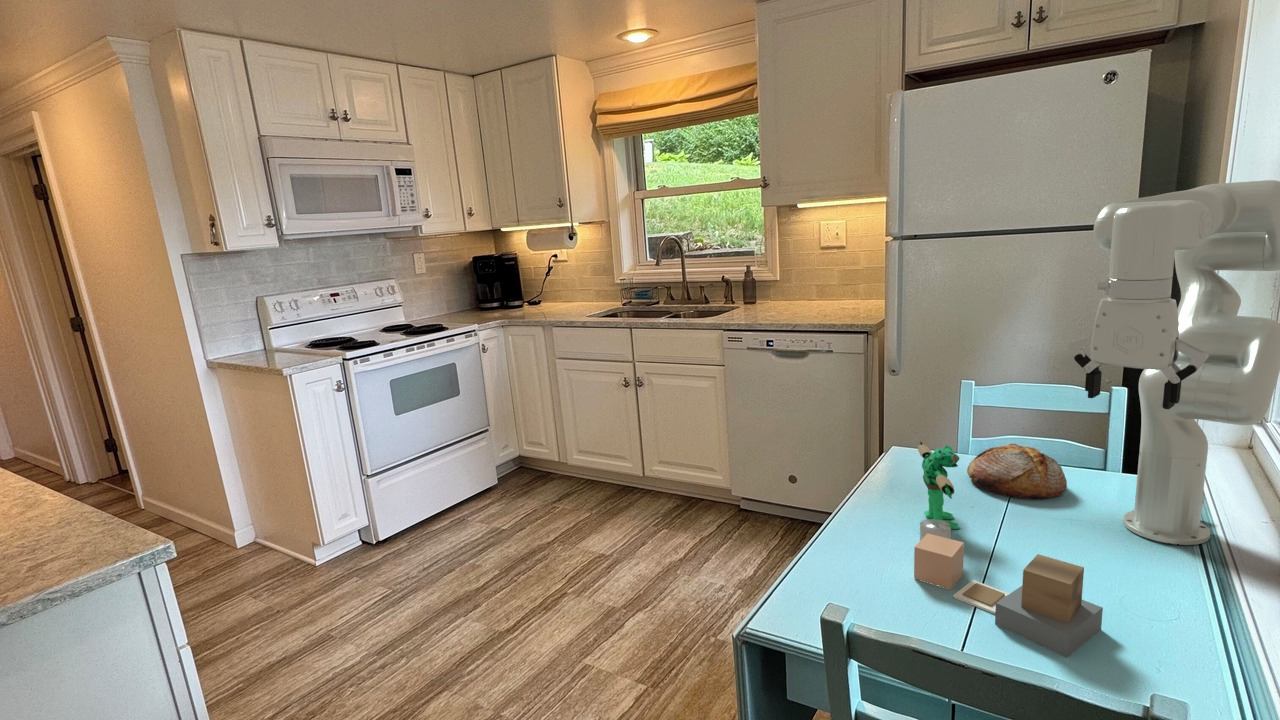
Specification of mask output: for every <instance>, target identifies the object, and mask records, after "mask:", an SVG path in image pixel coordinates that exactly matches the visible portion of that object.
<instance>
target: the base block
mask: <svg viewBox="0 0 1280 720" xmlns="http://www.w3.org/2000/svg"><path fill="white" fill-rule="evenodd" d="M1021 603H1022V585H1021V586H1019V587H1018V588H1016V589H1015V590H1013V591H1012V592H1010V593H1009V595H1007V596H1006V597H1004V598H1002V599H1001V600H999V601H998V602H996V612H995V614H994V615H995V616H994V617H995V618H994V619H995V620H994V625H997V626H998V627H1000V628H1002V629H1005V630H1006V631H1009V632H1011V633H1013V634H1015V635H1017V636H1018V637H1019V636H1020V637H1022V638H1024V639H1026V640H1028V641H1031V642H1032V643H1034V644H1036V645H1039V646H1041V647H1043V648H1045V649H1047V650H1050V651H1052V652H1054V653H1055V654H1058V655H1060V656H1062V657H1064V658H1067V659H1068V658H1069V657H1070V656H1071V655H1072V654H1073V653H1075V652H1076V651H1077V650H1078V649H1079V648H1081V647H1082V646H1083V645H1084V644H1086V643H1087V642H1089V640H1091V639H1092V638H1093V637H1094V636H1095V635H1097V634H1098V633H1099V632H1100V631H1102V625H1103V623H1102V622H1103V609H1104V608H1103V606H1101V605H1100V606H1099V605H1098V604H1094V603H1092V602H1090V601H1087V600H1085V599H1082V603H1081V606H1080V607H1079V609H1078V610H1077V612H1076V613H1075V614H1074V616H1073V617H1072V619H1071V620H1070V621H1069V623H1066V622H1063V621H1060V620H1057V619H1054V618H1051V617H1048V616H1045V615H1043V614H1040V613H1037V612H1034V611H1031V610H1028V609H1025V608H1022V607H1021Z"/></svg>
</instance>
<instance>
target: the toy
mask: <svg viewBox="0 0 1280 720" xmlns="http://www.w3.org/2000/svg"><path fill="white" fill-rule="evenodd" d="M917 450H918V452H919V454H920V456H921V458H922V459H923V460H922V463H921V468H922V470H923V476H922V479H923V482H924V484H925V486H926V488H927V495H928V510H927V511H925V512H924V514H925V517H926V519H938V520H942V521H945V522H947V523H949V524H950V526H951V530H961V527H960V526H959V524H958V523H956V522H954V521H950V520H955V517H954V516H953V515H954V514H952V513H950V512H948V511H944V509H943V507H944V503H945V500H944V495H945V496H947V497H948V498H949V499H950V500H951V499H952V498H953V495H954V494H955V489H954V488H955V487H954V485H953V483H952V481H951V480H950V479H949V478H948V471H947V470H946V468H958V467H959V464H957V463H958V462H959V461H960V456H959V455H957V454H956V452H954V450H953V449H952V447H951V446H950V445H945V446H944V447H943V448H936V449H935V450H934V452H932V450H931V449H930V448H929V447H928V446H926V445H925V444H923V442H922V441H920V442H919V445H918V446H917ZM944 467H945V468H944Z"/></svg>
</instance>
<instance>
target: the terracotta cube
mask: <svg viewBox="0 0 1280 720" xmlns="http://www.w3.org/2000/svg"><path fill="white" fill-rule="evenodd" d="M913 548H914V551H913V553H914V554H913V555H914V557H913V558H914V560H913V569H914V570H913V579H914V578H915V579H914V580H916V579H919V580H922V581H925V582H928V583H927V584H929V583H932V584H934V585H933V586H935V585H939V586H941V587H940V588H942V587H944V588H943V589H945V588H948V589H947V590H949V589H953V588H954V587H955V586H956V584H957V583H958V582H959V580H960V579H961V578H962V577H963V576H964V553H965V542H964V541H960V540H955V539H952V538H950V539H948V538H944V537H940V536H936V535H932V534H928V533H927V534H926V535H925V536H924V537H923V538H922V540H921V541H920V540H919V541H918V543H917V544H916V545H915V546H914V547H913ZM919 580H918V581H919ZM922 581H921V582H922ZM957 581H958V582H957ZM925 582H924V583H925ZM932 584H931V585H932ZM954 585H955V586H954ZM939 586H938V587H939Z"/></svg>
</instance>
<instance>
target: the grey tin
mask: <svg viewBox="0 0 1280 720" xmlns="http://www.w3.org/2000/svg"><path fill="white" fill-rule="evenodd" d="M945 521H946V520H945ZM945 521H942V520H938V519H934V518H926V519H922V520H921V521H920V522H919V542H920V541H921V540H922V538H923V537H924V536H925V535H926V534H927V533H928V534H932V535H936V536H940V537H944V538H948V539H952V538H951V537H952V536H951V535H952V533H951V532H952V529H951V526H950V524H949V523H947V522H945Z"/></svg>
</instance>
